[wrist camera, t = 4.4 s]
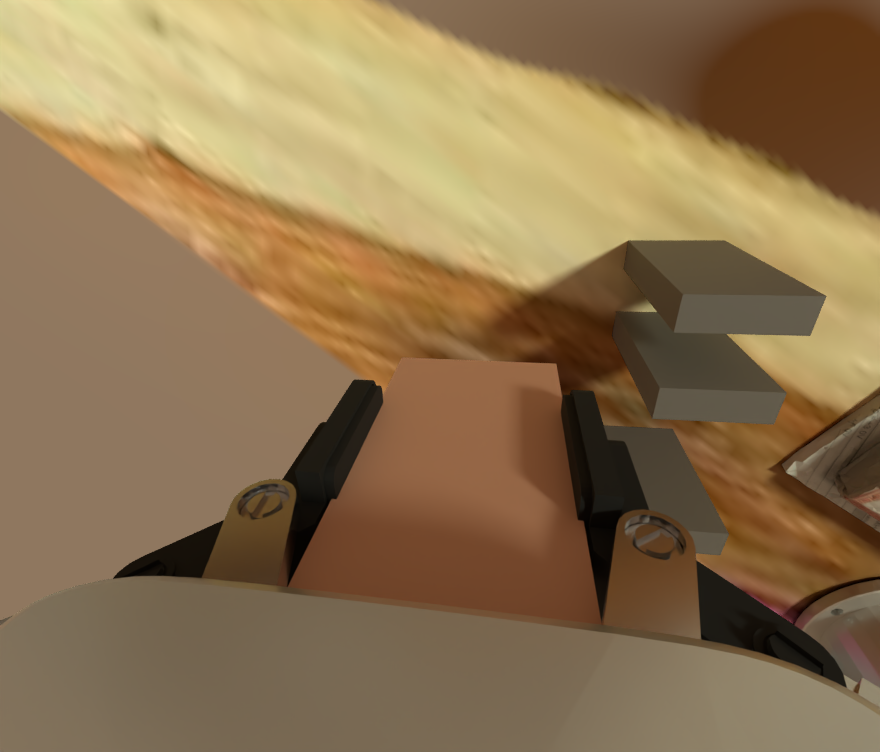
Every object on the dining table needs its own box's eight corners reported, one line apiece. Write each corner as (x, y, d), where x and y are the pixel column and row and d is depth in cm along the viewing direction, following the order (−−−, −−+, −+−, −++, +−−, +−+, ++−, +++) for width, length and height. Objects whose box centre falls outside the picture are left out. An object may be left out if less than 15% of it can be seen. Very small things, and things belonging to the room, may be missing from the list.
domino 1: (551, 406, 15) (591, 709, 7) (405, 398, 16) (295, 665, 8) (556, 363, 14) (605, 649, 6) (402, 357, 15) (276, 608, 7)
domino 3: (697, 338, 27) (773, 424, 19) (612, 335, 28) (652, 418, 20) (704, 313, 26) (786, 392, 19) (616, 311, 27) (660, 387, 19)
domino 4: (667, 447, 31) (719, 555, 24) (593, 443, 32) (620, 546, 24) (672, 428, 30) (728, 534, 23) (596, 425, 31) (626, 526, 23)
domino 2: (716, 269, 25) (810, 335, 17) (623, 268, 26) (673, 332, 18) (724, 240, 24) (826, 296, 17) (628, 240, 25) (683, 294, 17)
